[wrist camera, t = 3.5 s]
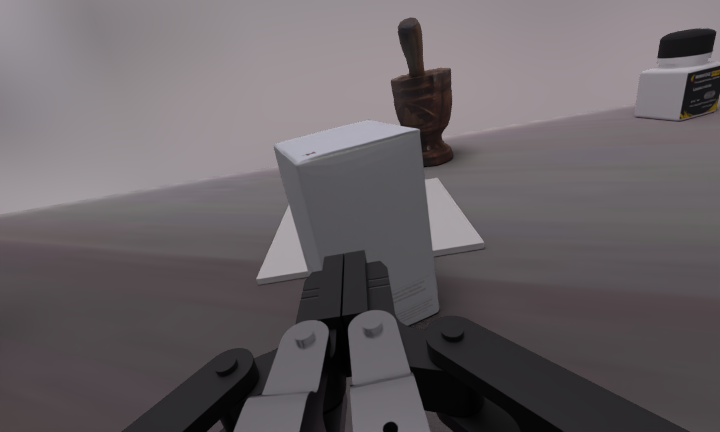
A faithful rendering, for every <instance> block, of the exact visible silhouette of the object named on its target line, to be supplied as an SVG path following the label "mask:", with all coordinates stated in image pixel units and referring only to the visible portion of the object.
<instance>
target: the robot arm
mask: <svg viewBox="0 0 720 432" xmlns="http://www.w3.org/2000/svg"><path fill="white" fill-rule="evenodd" d="M346 377H352V381H353V385H350V397H351V409H352V422H353V432H430V429H429V425H428V422H427V419H426V415H425V412H424V410H426V411H431V412H436V413H437V415H438V417H439V419H440V420H441V421H442V422H443V423H444V424H445V425H446V426H447V427H449V428H450V429H451V430H452V431H453V432H689V431H687V430H685V429H683V428H681V427H680V426H678V425H676V424H674V423H672V422H670V421H668V420H666V419H664V418H662V417H660V416H658V415H656V414H654V413H652V412H650V411H648V410H646V409H644V408H642V407H640V406H638V405H636V404H634V403H632V402H630V401H628V400H626V399H624V398H622V397H620V396H618V395H616V394H614V393H612V392H610V391H608V390H606V389H604V388H602V387H600V386H598V385H597V384H595V383H593V382H591V381H589V380H587V379H585V378H583V377H581V376H579V375H577V374H575V373H573V372H571V371H569V370H567V369H565V368H563V367H561V366H559V365H557V364H555V363H553V362H551V361H549V360H547V359H545V358H543V357H541V356H539V355H537V354H535V353H533V352H531V351H529V350H527V349H525V348H523V347H521V346H519V345H517V344H515V343H514V342H512V341H510V340H508V339H506V338H504V337H502V336H500V335H498V334H496V333H494V332H492V331H490V330H488V329H486V328H484V327H482V326H480V325H478V324H476V323H474V322H472V321H470V320H468V319H466V318H463V317H458V316H446V317H441V318H438V319H436V320H434V321H433V322H432V323H431V324H430V325H429V326H428V327H427V329H418V328H412V327H409V326H407V325H405V324H403V323H402V322H400V321H399V320H398V318H397V317H396V314H395V309H394V303H393V297H392V291H391V286H390V280H389V274H388V269H387V267H386V266H385V265H384V264H383V263H382V262H381V261H375V262H369V263H367V259H366V254H365V250H360V251H354V252H348V253H345V255H344V253H343V254H337V255H331V256H325V257H324V261H323V268H322V270H321V271H315V272H312V273H311V274H310V275H309V277H308V278H307V279H306V280H305V283H304V288H303V292H302V297H301V301H300V306H299V310H298V315H297V320H296V324H295V325H294V326H293V327H291V328H290V329H289V330H287V332H286V333H285V334H284V335H283V337H282V339H281V342H280V345H279V348H277V349H275V350H273V351H271V352H269V353H266V354H264V355H261V356H259V357H256V358H253V355H252V353H251V352H250V351H249V350H247V349H243V348H236V349H231V350H228V351H225V352H223V353H221V354H219V355H218V356H216V357H215V358H214V359H212V360H211V361H210V362H209V363H207V364H206V365H205V366H203V367H202V368H201V369H200V370H198V371H197V372H196V373H195V374H193V375H192V376H191V377H190V378H188V379H187V380H186V381H185V382H183V383H182V384H181V385H180V386H178V387H177V388H176V389H175V390H173V391H172V392H171V393H170V394H168V395H167V396H166V397H165V398H163V399H162V400H161V401H160V402H158V403H157V404H156V405H155V406H153V407H152V408H151V409H150V410H148V411H147V412H146V413H144V414H143V415H142V416H141V417H139V418H138V419H137V420H136V421H134V422H133V423H132V424H131V425H129V426H128V427H127V428H126V429H124V430H123V431H122V432H207V431H208V430H209V429H210V428H211V427H212V426H213V425H214V424H215V423H216V422H217V421H218V420H219V419H220V421H221V423H222V425H223V427H224V428H223V429H222V430H221V431H220V432H345V422H346V412H347V395H346Z"/></svg>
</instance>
